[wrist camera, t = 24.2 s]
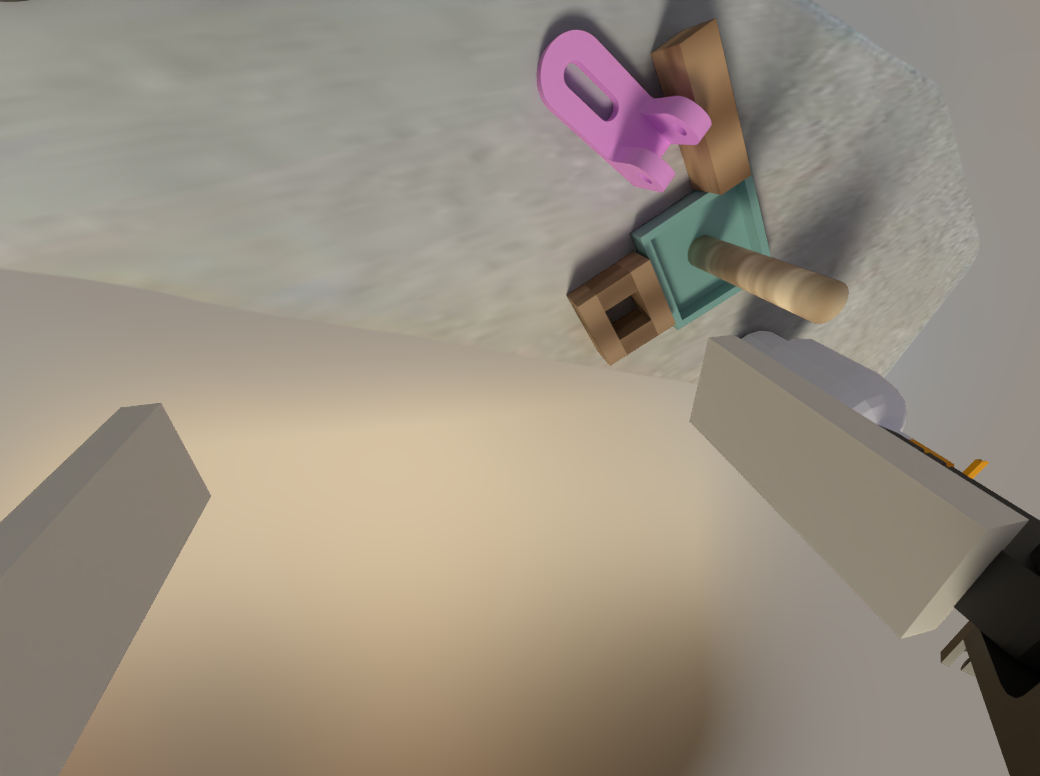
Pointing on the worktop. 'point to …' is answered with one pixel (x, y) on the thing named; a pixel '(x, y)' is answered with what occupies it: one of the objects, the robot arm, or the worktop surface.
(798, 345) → the soap bottle
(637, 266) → the socket block
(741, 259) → the dowel
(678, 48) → the block
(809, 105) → the worktop surface
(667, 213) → the tray
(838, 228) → the worktop surface
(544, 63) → the bracket
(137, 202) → the worktop surface
